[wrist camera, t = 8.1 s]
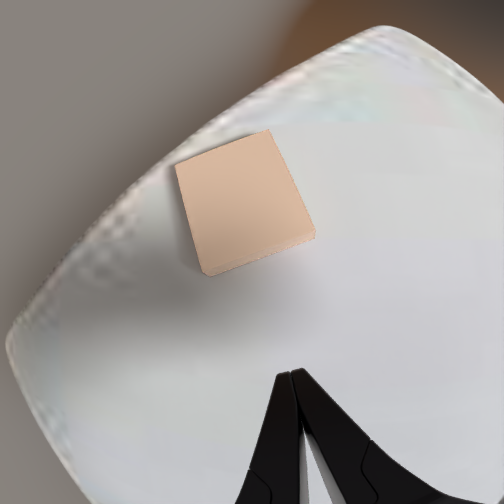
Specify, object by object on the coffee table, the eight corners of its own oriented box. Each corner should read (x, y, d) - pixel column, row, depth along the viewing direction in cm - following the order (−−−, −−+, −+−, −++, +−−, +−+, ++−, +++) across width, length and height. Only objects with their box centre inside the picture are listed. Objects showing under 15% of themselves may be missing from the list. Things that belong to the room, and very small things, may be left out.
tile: (315, 230, 17) (268, 129, 19) (202, 272, 17) (174, 165, 19) (314, 240, 19) (271, 145, 21) (212, 278, 19) (184, 178, 21)
